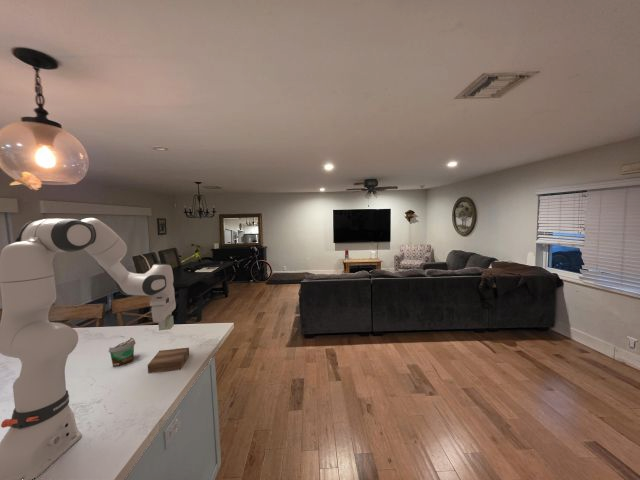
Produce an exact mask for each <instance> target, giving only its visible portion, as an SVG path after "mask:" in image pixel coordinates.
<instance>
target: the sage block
mask: <svg viewBox="0 0 640 480" xmlns="http://www.w3.org/2000/svg"><path fill="white" fill-rule="evenodd" d="M165 323H166V327H165V328H161V324H160V322H158V323H157V324H158V331H166V330H171V329H172V328H173V327H174V326H175V325H174V315H171V316H167V317H166V318H165Z"/></svg>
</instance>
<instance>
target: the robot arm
mask: <svg viewBox="0 0 640 480" xmlns="http://www.w3.org/2000/svg"><path fill="white" fill-rule="evenodd" d="M81 250H84V251H85V252H87V253H88V254H89V255H90V256H91V257H92V258H93V259H94V260H95V261H96V263H97V265H98V266H99V267H100V268H101V269H102V270H103V271H104V273H106V274H107V275H108V276H109V277H110V279H111V280H113V282H114V283H115V286H116V288H117V289H118V292H119V293H120V294H122V295H124V296H147V297H148V296H152V298H151V299H150V301H149V306H150V307H151V316H152V321H153V323H154V324H155V323H157V324H158V322H160V324H161V328H165V327H166V323H165V318H166V317H167V316H173V315H172V313H173V312H174V310H176V307H177V303H176V298H175V293H176V292H175V287H174V274H173V272H174V271H173V268H172V266H171V265H170V264H168V263H154V264H153V265H152V267H151V268H150V269H149V270H148V271H146V272H145V273H136V272H131V271H129V270H127V269H126V267H125V266H124V265H123V264H122V263H121V261H122V260H123V258H124V257H126V254H127V252H128V246H127V244H126V243H125V241H124V240H123V239H122V238H121V236H119V235H118V233H116V232H115V231H114V230H113V229H112V228H111V227H109V226H108V225H107V224H106V223H104V222H102V221H101V220H100V219H98V218H94V217H86V218H82V219H81V220H79V219H75V218H59V217H52V218H41V219H40V218H38V219H34V220H31V221H28V222H27V223H25V224H23V225H22V226H21V228H20V229H19V232H18V235H17V237H16V239H15V242H12V243H10V244H7V245H6V246H4V247H3V248H2V250H1V252H0V293H1V294H0V295H1V302H2V303H1V304H2V311H1V317H0V354H1V355H2V356H5V357H8V358H14V359H15V358H16V359H19V360H20V363H21V368H20V373H19V376H18V377H17V378H16V379H15V380H14V382H13V384H12V392H13V393H12V395H13V400H14V408H13V411H12V414H11V418H6V419H4V420H2V421H1V423H0V427H1V428H2V429H3V428H4V429H5V428H7V427H8V428H9V429H8V430H7V431H6V434H4V436H3V438H2V439H1V441H0V480H22V479H23V480H31V479H33V480H35V479H36V478H38V477H39V476H40V475H41V474H43V472H44V471H46V470H47V469H48V468H49V467H50V466H52V464H53V463H54V462H55V461H57V460H58V459H59V458H60V457H61V456H62V455H63V454H65V452H66V451H68V450H69V449H70V448H71V447H72V446H73V445H74V444H75V443H76V442H77V441H78V440H80V439H81V438H82V437H83V435H82V432H81V431H80V430H78V425H77V422H76V418H75V413H74V412H73V410H72V409H71V408H70V405H69V403H70V394H69V391H68V390H67V386H66V385H67V383H66V364H67V360H68V358H69V355H70V354H71V353H73V351H74V350H75V348H76V347H77V345H78V343H79V334H78V332H77V331H76V330H75V329H74V328H72V327H71V326H69V325H66V324H64V323H62V322H54V321H53V322H51V321H50V320H49V313H50V310H51V307H52V305H53V304H54V303H55V302H56V300H57V290H56V281H55V279H56V278H55V271H54V266H53V261H54V258H55V256H56V254H57V253H66V252H69V253H72V252H79V251H81ZM34 478H35V479H34Z"/></svg>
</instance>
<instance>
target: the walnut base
mask: <svg viewBox="0 0 640 480" xmlns="http://www.w3.org/2000/svg"><path fill="white" fill-rule="evenodd" d="M189 356H190V347H180V348H173V349H162V350H158V352H157V353H156V354H155V356H154V357H153V358H152V359H151V360H150V362H149V363H147V373H148V374H154V373H163V372H170V371H178V370H182V369H183V367H184V365H185V364H186V361H187V360H188V358H189Z"/></svg>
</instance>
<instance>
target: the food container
mask: <svg viewBox="0 0 640 480" xmlns="http://www.w3.org/2000/svg"><path fill="white" fill-rule="evenodd" d="M129 338H130V339H129V340H126V341H123V342H120V343H119V344H118V345H116V346H114V347H109V349H108V353H109V354H110V359H111V364H112V367H113V368H115V367H122V366H125V365H129V364H130V363H132V362H133V361H134V355H135V352H134V351H135V345H136V339H134V338H133V337H129Z"/></svg>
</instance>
